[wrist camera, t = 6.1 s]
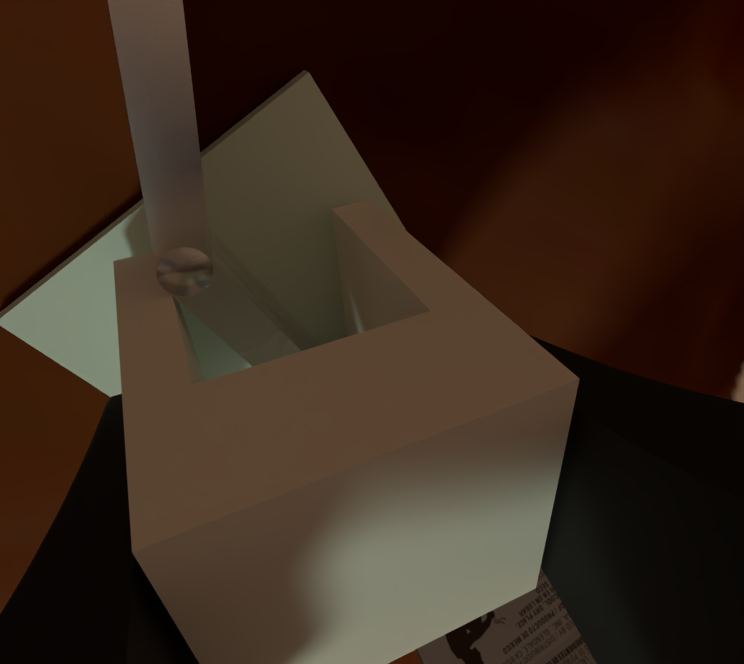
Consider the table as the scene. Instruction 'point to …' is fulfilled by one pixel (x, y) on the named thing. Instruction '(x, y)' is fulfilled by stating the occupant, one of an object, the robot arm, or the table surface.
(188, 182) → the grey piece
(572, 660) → the coffee box
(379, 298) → the u block
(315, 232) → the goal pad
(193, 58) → the table surface
